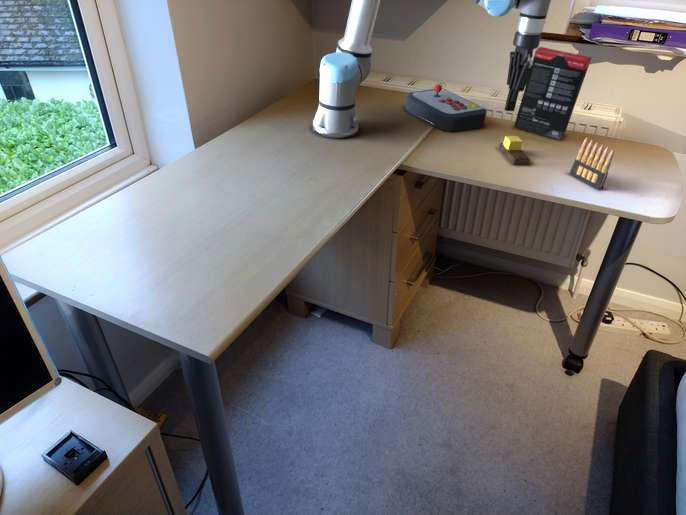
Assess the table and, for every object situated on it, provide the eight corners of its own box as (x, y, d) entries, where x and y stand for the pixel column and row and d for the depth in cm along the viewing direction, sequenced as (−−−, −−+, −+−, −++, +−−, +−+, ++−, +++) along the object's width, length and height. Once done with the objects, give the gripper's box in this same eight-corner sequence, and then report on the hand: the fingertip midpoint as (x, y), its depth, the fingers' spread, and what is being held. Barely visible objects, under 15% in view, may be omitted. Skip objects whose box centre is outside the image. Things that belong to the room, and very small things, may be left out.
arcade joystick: (398, 107, 192) (401, 80, 186) (437, 101, 200) (442, 75, 194) (445, 134, 173) (450, 105, 167) (487, 126, 181) (493, 98, 175)
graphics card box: (565, 135, 179) (593, 55, 163) (561, 141, 174) (589, 59, 158) (518, 123, 186) (540, 45, 170) (512, 128, 181) (534, 48, 165)
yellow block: (502, 144, 164) (505, 135, 162) (515, 144, 164) (517, 136, 162) (508, 150, 160) (510, 141, 158) (520, 150, 161) (523, 141, 159)
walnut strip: (498, 148, 166) (500, 142, 165) (512, 148, 167) (514, 142, 165) (513, 165, 156) (515, 159, 155) (528, 164, 157) (530, 159, 156)
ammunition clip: (602, 188, 147) (618, 150, 140) (598, 190, 146) (614, 151, 139) (572, 173, 154) (586, 135, 147) (568, 174, 153) (582, 136, 146)
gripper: (550, 38, 145) (528, 117, 159) (531, 27, 155) (511, 103, 169) (526, 37, 144) (506, 117, 158) (508, 27, 154) (490, 103, 168)
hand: (509, 110), depth 164 cm, fingers closed
